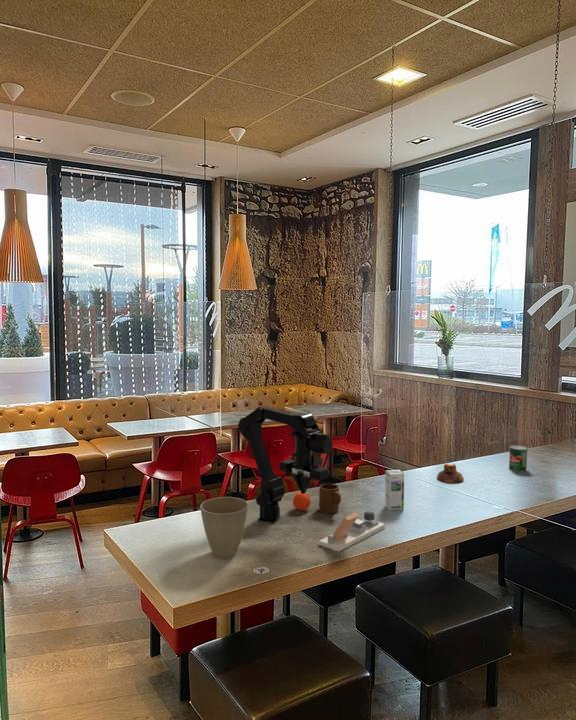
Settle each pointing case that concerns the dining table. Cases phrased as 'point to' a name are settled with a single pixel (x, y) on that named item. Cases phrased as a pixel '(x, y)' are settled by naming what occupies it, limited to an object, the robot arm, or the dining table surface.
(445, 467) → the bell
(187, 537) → the dining table surface
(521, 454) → the canned tomato
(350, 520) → the paddle
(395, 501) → the syrup box
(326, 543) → the switch console
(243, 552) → the dining table surface
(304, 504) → the clementine
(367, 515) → the push button
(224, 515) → the plant pot
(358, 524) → the rocker
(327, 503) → the mug
